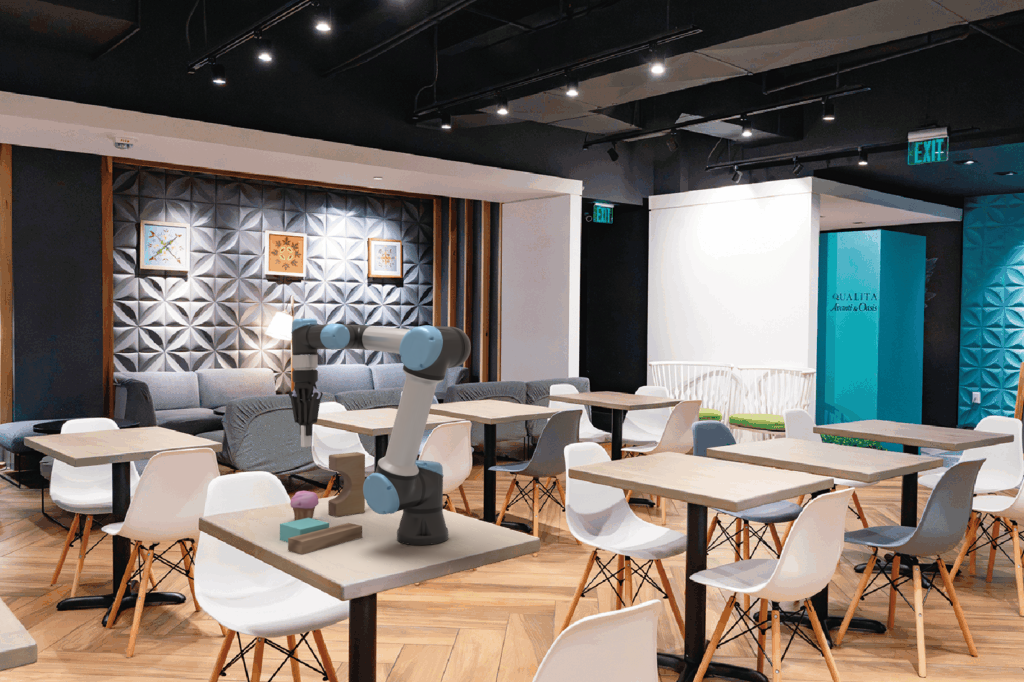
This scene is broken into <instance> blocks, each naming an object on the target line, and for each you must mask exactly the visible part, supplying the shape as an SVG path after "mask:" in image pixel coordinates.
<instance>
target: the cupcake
mask: <svg viewBox="0 0 1024 682" xmlns="http://www.w3.org/2000/svg"><path fill="white" fill-rule="evenodd" d="M289 503H290V507H291V508H292V510H293V513H294V514H293V515H294V521H296V520H300V519H305V518H312V519H314V514H315V509H316V506H318V505H319V503H320V502H319V497H318V495H317V493H316V492H314V491H309V490H308V491H307V490H298V491H296V492H295V494H294V495H293V496H292V497H291V500H290V502H289Z"/></svg>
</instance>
